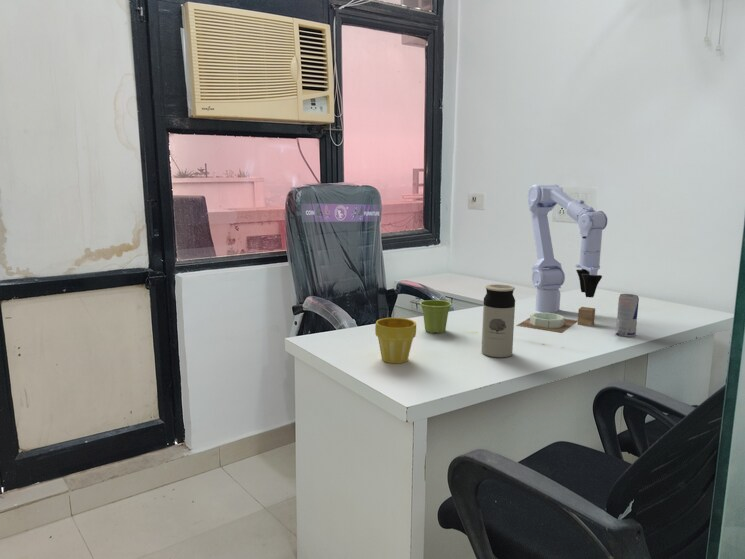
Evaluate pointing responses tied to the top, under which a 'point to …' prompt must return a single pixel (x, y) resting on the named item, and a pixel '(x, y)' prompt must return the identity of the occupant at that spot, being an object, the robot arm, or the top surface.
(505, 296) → the travel mug
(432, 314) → the plant pot
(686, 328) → the top surface
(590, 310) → the brown wooden block
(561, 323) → the octagonal green bowl
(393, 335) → the plant pot
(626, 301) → the energy drink
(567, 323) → the walnut board
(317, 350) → the top surface
